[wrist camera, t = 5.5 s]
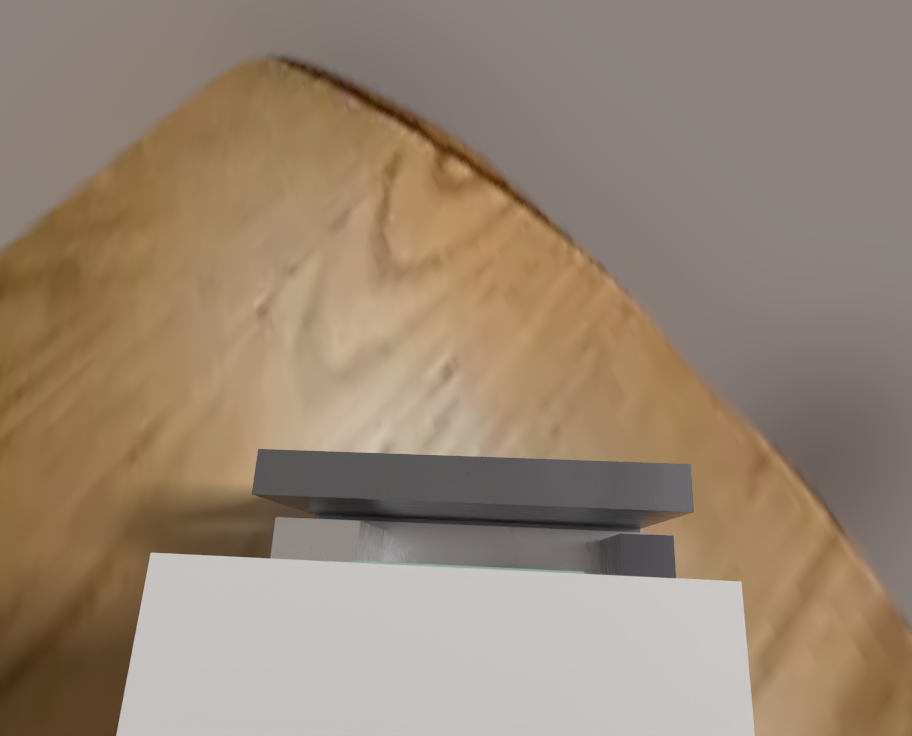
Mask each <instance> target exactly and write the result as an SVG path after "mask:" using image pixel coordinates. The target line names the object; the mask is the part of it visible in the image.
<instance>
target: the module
mask: <svg viewBox="0 0 912 736" xmlns="http://www.w3.org/2000/svg"><path fill="white" fill-rule="evenodd" d="M116 736H755V733H754V721H753V710H752V698H751V687H750V676H749V664H748V653H747V642H746V630H745V619H744V607H743V596H742V585H741V582H740V581H719V580H699V579H678V578H658V577H638V576H617V575H597V574H585V572H581V571H560V570H540V569H519V568H499V567H478V566H458V565H437V564H417V563H396V562H376V561H355V560H352V562H331V561H311V560H291V559H270V558H250V557H229V556H209V555H189V554H168V553H151V554H150V559H149V564H148V570H147V575H146V580H145V586H144V591H143V596H142V602H141V607H140V612H139V617H138V623H137V628H136V633H135V639H134V644H133V649H132V655H131V660H130V665H129V671H128V676H127V681H126V686H125V692H124V697H123V702H122V708H121V713H120V718H119V724H118V729H117V734H116Z"/></svg>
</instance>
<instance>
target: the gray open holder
mask: <svg viewBox="0 0 912 736" xmlns="http://www.w3.org/2000/svg"><path fill="white" fill-rule="evenodd" d="M252 494H253V495H256V496H259V497H262V498H265V499H268V500H271V501H274V502H278V503H281V504H284V505H287V506H290V507H293V508H296V509H299V510H302V511H305V512H308V513H311V514H314V515H316V519H314V518H309V519H308V518H285V517H276V518H275V526H274V533H273V541H272V548H271V556H270V559H291V560H311V561H331V562H352V560H355V561H376V562H396V563H417V564H437V565H458V566H478V567H499V568H519V569H540V570H560V571H581V572H585V574H597V575H617V576H638V577H658V578H676V572H675V555H674V538H673V536H667V535H646V533H640V529H641V528H644V527H648V526H651V525H654V524H657V523H660V522H664V521H667V520H670V519H673V518H676V517H680V516H683V515H686V514H689V513H692V512H694V507H693V493H692V478H691V464H666V463H637V462H609V461H581V460H552V459H524V458H495V457H467V456H439V455H410V454H382V453H353V452H325V451H297V450H268V449H258V455H257V462H256V469H255V476H254V483H253V490H252Z"/></svg>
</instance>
